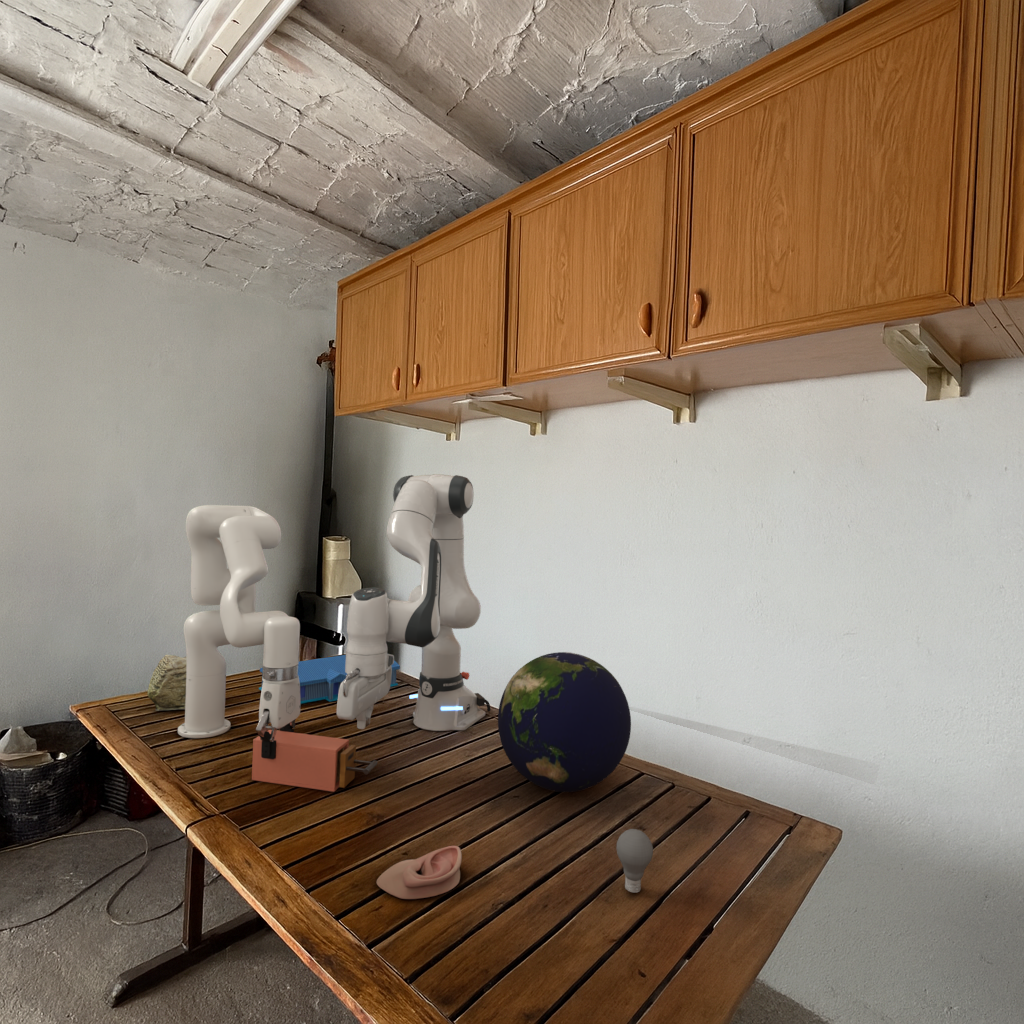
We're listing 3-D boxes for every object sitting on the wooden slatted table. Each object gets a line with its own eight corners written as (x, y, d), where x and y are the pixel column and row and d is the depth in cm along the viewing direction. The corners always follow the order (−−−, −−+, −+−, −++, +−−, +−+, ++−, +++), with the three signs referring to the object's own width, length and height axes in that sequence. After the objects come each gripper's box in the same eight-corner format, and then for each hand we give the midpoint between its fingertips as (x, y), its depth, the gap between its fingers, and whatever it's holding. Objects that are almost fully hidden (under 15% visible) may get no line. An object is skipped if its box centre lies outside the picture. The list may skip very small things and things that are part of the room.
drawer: (377, 781, 140) (378, 748, 140) (367, 791, 135) (368, 757, 135) (278, 767, 145) (279, 735, 145) (265, 776, 140) (266, 743, 140)
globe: (472, 799, 135) (478, 659, 135) (523, 750, 163) (528, 634, 162) (610, 832, 124) (617, 680, 124) (639, 773, 152) (645, 649, 151)
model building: (289, 709, 186) (291, 675, 185) (258, 688, 204) (259, 657, 204) (403, 687, 212) (405, 657, 212) (366, 670, 230) (368, 643, 230)
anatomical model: (369, 868, 102) (396, 832, 113) (368, 893, 102) (395, 854, 113) (448, 882, 99) (468, 844, 110) (447, 907, 99) (467, 866, 110)
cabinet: (347, 779, 142) (349, 739, 142) (334, 791, 136) (335, 750, 136) (268, 768, 146) (269, 729, 146) (251, 780, 140) (253, 739, 140)
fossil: (144, 707, 182) (145, 655, 182) (212, 696, 194) (213, 647, 194) (151, 716, 175) (153, 662, 175) (221, 703, 188) (223, 653, 188)
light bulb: (610, 879, 108) (613, 822, 108) (644, 879, 109) (647, 822, 109) (619, 902, 102) (622, 840, 102) (655, 901, 103) (658, 840, 103)
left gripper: (274, 684, 133) (270, 769, 133) (315, 664, 150) (312, 739, 150) (241, 681, 134) (238, 765, 134) (286, 661, 151) (283, 736, 151)
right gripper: (359, 677, 127) (356, 746, 127) (397, 654, 147) (394, 713, 147) (330, 674, 128) (327, 742, 128) (371, 652, 148) (369, 710, 149)
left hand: (277, 751), depth 142 cm, fingers closed on cabinet, 6 cm apart
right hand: (363, 726), depth 138 cm, fingers closed
